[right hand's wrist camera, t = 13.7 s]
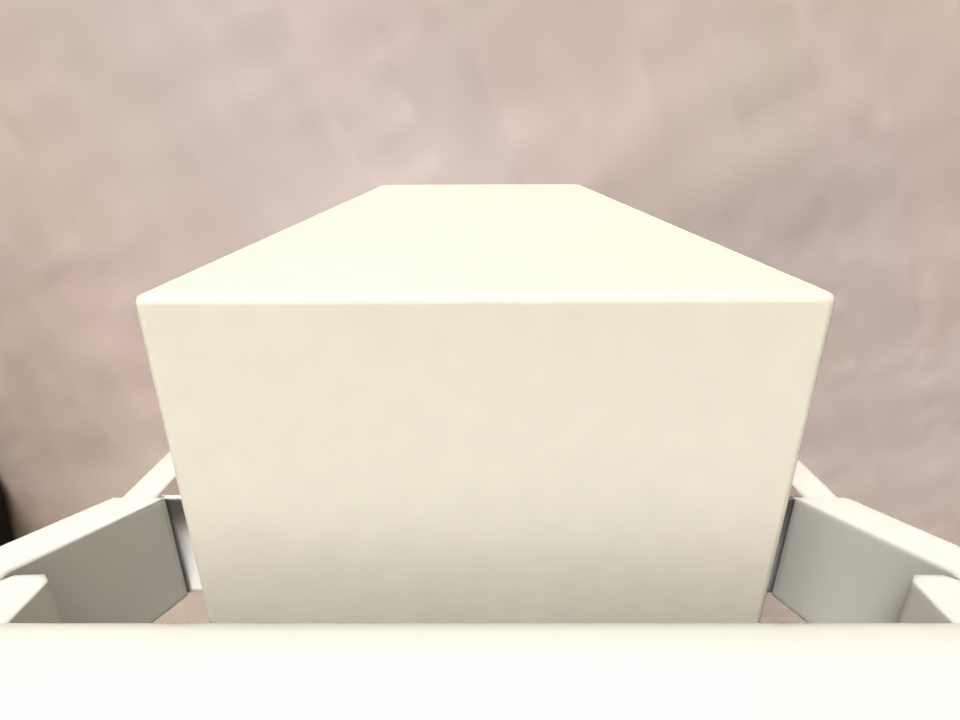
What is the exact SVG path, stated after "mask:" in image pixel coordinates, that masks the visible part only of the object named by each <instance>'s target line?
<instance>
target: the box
mask: <svg viewBox="0 0 960 720" xmlns="http://www.w3.org/2000/svg"><path fill="white" fill-rule="evenodd" d="M833 307H834V296H833V295H832V293H830V292H828V291H826V290H823V289H821V288H819V287H816V286H814V285H812V284H809V283H807V282H805V281H802V280H800V279H798V278H795V277H793V276H791V275H788V274H786V273H784V272H781V271H779V270H777V269H774V268H772V267H770V266H767V265H765V264H763V263H760V262H758V261H756V260H753V259H751V258H749V257H746V256H744V255H742V254H739V253H737V252H735V251H732V250H730V249H728V248H725V247H723V246H721V245H718V244H716V243H714V242H711V241H709V240H707V239H704V238H702V237H700V236H697V235H695V234H693V233H690V232H688V231H686V230H683V229H681V228H679V227H676V226H674V225H672V224H669V223H667V222H665V221H662V220H660V219H658V218H655V217H653V216H651V215H648V214H646V213H644V212H641V211H639V210H637V209H634V208H632V207H630V206H627V205H625V204H623V203H620V202H618V201H616V200H613V199H611V198H609V197H606V196H604V195H602V194H599V193H597V192H595V191H592V190H590V189H588V188H585V187H583V186H581V185H578V184H559V185H382V186H380V187H378V188H376V189H374V190H371V191H369V192H367V193H365V194H362V195H360V196H358V197H356V198H354V199H351V200H349V201H347V202H345V203H342V204H340V205H338V206H336V207H334V208H331V209H329V210H327V211H325V212H323V213H320V214H318V215H316V216H314V217H311V218H309V219H307V220H305V221H303V222H300V223H298V224H296V225H294V226H291V227H289V228H287V229H285V230H283V231H280V232H278V233H276V234H274V235H272V236H269V237H267V238H265V239H263V240H260V241H258V242H256V243H254V244H252V245H249V246H247V247H245V248H243V249H240V250H238V251H236V252H234V253H232V254H229V255H227V256H225V257H223V258H220V259H218V260H216V261H214V262H212V263H209V264H207V265H205V266H203V267H201V268H198V269H196V270H194V271H192V272H189V273H187V274H185V275H183V276H181V277H178V278H176V279H174V280H172V281H169V282H167V283H165V284H163V285H161V286H158V287H156V288H154V289H152V290H149V291H147V292H145V293H143V294H141V295H139V296H138V297H137V301H136V308H137V312H138V317H139V321H140V325H141V329H142V334H143V338H144V342H145V347H146V351H147V355H148V359H149V364H150V368H151V372H152V377H153V381H154V385H155V389H156V394H157V398H158V402H159V406H160V411H161V415H162V419H163V424H164V428H165V432H166V436H167V441H168V445H169V449H170V453H171V458H172V462H173V466H174V471H175V475H176V479H177V483H178V488H179V492H180V496H181V501H182V505H183V509H184V513H185V518H186V522H187V526H188V530H189V535H190V539H191V543H192V548H193V552H194V556H195V560H196V565H197V569H198V573H199V577H200V582H201V586H202V590H203V595H204V599H205V603H206V607H207V612H208V616H209V620H210V623H760V619H761V614H762V610H763V606H764V602H765V597H766V593H767V589H768V585H769V580H770V576H771V572H772V568H773V563H774V559H775V555H776V550H777V546H778V542H779V538H780V533H781V529H782V525H783V521H784V516H785V512H786V508H787V504H788V499H789V495H790V491H791V487H792V482H793V478H794V474H795V469H796V465H797V461H798V457H799V452H800V448H801V444H802V440H803V435H804V431H805V427H806V423H807V418H808V414H809V410H810V405H811V401H812V397H813V393H814V388H815V384H816V380H817V376H818V371H819V367H820V363H821V359H822V354H823V350H824V346H825V342H826V337H827V333H828V329H829V324H830V320H831V316H832V312H833Z"/></svg>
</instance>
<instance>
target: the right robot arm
mask: <svg viewBox="0 0 960 720" xmlns="http://www.w3.org/2000/svg"><path fill="white" fill-rule="evenodd" d="M187 592H203V590H202V586H201V582H200V577H199V573H198V569H197V565H196V560H195V556H194V552H193V548H192V543H191V539H190V535H189V530H188V526H187V522H186V518H185V513H184V509H183V505H182V501H181V496H180V492H179V488H178V483H177V479H176V475H175V471H174V466H173V462H172V458H171V453H170V451H169V452H168V453H167V454H166V455H165V456H164V457H163V458H162V459H161V460H160V461H159V462H158V463H157V464H156V465H155V466H154V467H153V468H152V469H151V470H150V471H149V472H148V473H147V474H146V475H145V476H144V477H143V478H142V479H141V480H140V481H139V482H138V483H137V484H136V485H135V486H134V487H133V488H132V489H131V490H130V491H129V492H128V493H127V494H126V495H125V496H124V497H123V498H111V499H109V500H107V501H104V502H102V503H100V504H97V505H95V506H93V507H90V508H88V509H86V510H83V511H81V512H79V513H76V514H74V515H72V516H69V517H67V518H65V519H62V520H60V521H58V522H55V523H53V524H51V525H48V526H46V527H44V528H41V529H39V530H37V531H34V532H32V533H30V534H28V535H25V536H23V537H21V538H18V539H16V540H14V541H11V542H9V543H7V544H4V545H2V546H0V720H960V546H958V545H955V544H953V543H951V542H948V541H946V540H944V539H941V538H939V537H937V536H934V535H932V534H930V533H928V532H925V531H923V530H921V529H918V528H916V527H914V526H911V525H909V524H907V523H904V522H902V521H900V520H897V519H895V518H893V517H890V516H888V515H886V514H883V513H881V512H879V511H877V510H874V509H872V508H870V507H867V506H865V505H863V504H860V503H858V502H856V501H853V500H851V499H849V498H837V497H836V496H835V495H834V494H833V493H832V492H831V491H830V490H829V489H828V488H827V487H826V486H825V485H824V484H823V483H822V482H821V481H820V480H819V479H818V478H817V477H816V476H815V475H814V474H813V473H812V472H811V471H810V470H809V469H808V468H807V467H806V466H805V465H804V464H803V463H802V462H801V461H800V460H799V459H798V461H797V465H796V469H795V474H794V478H793V482H792V487H791V491H790V495H789V499H788V504H787V508H786V512H785V516H784V521H783V525H782V529H781V533H780V538H779V542H778V546H777V550H776V555H775V559H774V563H773V568H772V572H771V576H770V580H769V585H768V589H767V592H772V595H773V596H774V597H775V598H777V599H778V600H779V601H780V602H782V603H783V604H784V605H786V606H787V607H788V608H789V609H791V610H792V611H793V612H795V613H796V614H797V615H798V616H800V617H801V618H802V619H804V620H805V621H806V622H807V623H153V622H154V621H155V620H157V619H158V618H159V617H160V616H162V615H163V614H164V613H166V612H167V611H168V610H169V609H171V608H172V607H173V606H175V605H176V604H177V603H178V602H180V601H181V600H182V599H184V598H185V597H186V596H187V595H188V593H187Z"/></svg>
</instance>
